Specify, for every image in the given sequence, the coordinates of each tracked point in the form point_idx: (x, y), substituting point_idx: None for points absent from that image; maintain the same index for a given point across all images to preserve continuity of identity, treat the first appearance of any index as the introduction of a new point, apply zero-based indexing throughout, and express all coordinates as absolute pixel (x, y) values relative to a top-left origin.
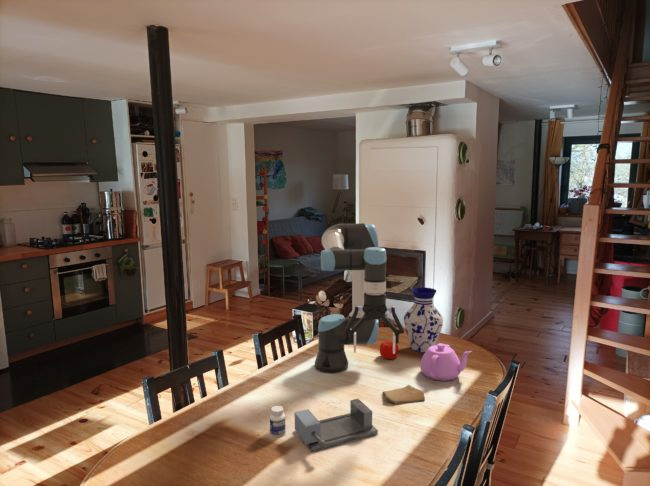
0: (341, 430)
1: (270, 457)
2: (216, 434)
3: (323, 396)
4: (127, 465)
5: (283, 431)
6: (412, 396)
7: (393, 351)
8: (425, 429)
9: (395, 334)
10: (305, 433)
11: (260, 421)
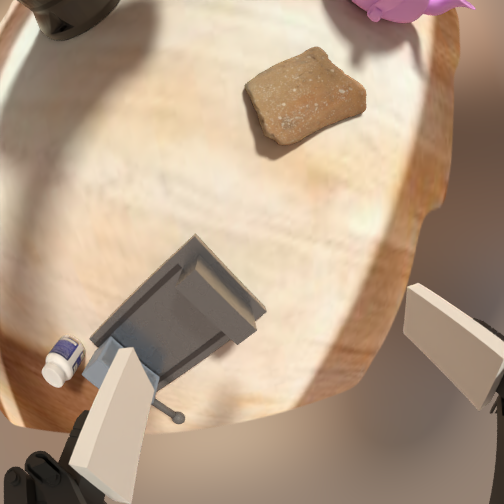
0: (183, 334)
1: None
2: (14, 358)
3: (81, 160)
4: (10, 410)
5: (82, 357)
6: (337, 107)
7: (412, 339)
8: (367, 253)
9: (498, 392)
10: None
11: (29, 315)
